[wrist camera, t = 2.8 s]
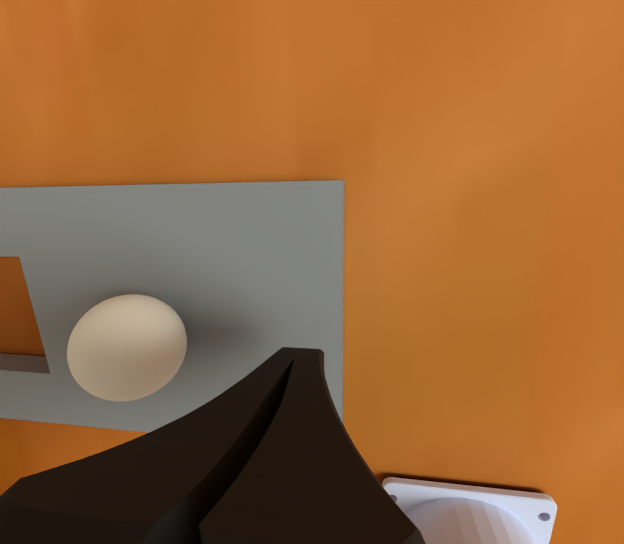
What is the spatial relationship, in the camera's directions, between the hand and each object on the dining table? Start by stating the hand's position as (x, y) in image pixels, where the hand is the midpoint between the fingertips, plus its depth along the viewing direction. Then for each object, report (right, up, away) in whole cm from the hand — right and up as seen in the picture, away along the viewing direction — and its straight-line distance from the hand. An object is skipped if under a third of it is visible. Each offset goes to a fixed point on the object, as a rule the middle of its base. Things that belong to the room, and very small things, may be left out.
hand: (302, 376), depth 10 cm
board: (-11, +1, +6) cm, 13 cm away
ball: (-7, 0, +2) cm, 7 cm away
